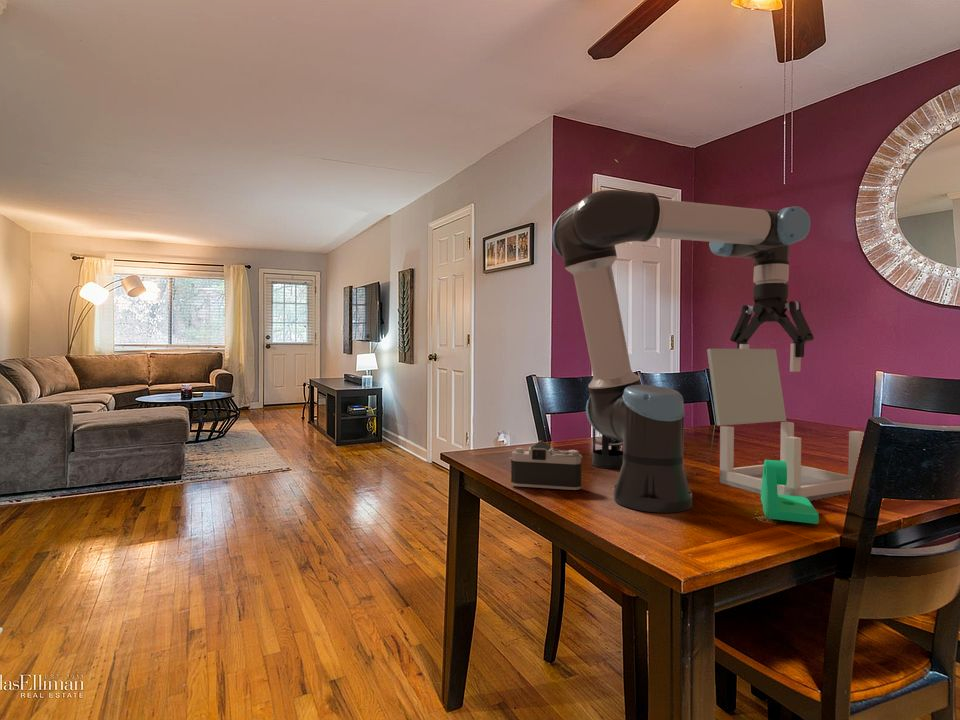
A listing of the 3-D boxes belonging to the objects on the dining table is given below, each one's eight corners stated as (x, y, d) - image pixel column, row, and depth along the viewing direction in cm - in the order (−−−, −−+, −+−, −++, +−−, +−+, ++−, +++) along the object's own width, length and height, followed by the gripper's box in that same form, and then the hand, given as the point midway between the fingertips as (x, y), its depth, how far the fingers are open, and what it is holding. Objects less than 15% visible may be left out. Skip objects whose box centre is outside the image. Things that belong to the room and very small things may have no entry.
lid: (710, 348, 121) (703, 350, 123) (720, 425, 119) (712, 425, 121) (775, 349, 130) (768, 350, 132) (786, 420, 127) (778, 421, 129)
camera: (583, 481, 120) (583, 438, 120) (582, 491, 112) (582, 445, 112) (515, 477, 124) (516, 436, 124) (509, 486, 115) (509, 442, 115)
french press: (622, 470, 130) (623, 380, 130) (586, 466, 135) (586, 379, 135) (633, 462, 141) (634, 378, 140) (599, 458, 145) (600, 377, 145)
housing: (793, 503, 102) (794, 438, 102) (719, 482, 119) (720, 426, 119) (863, 492, 111) (864, 432, 111) (785, 474, 128) (786, 421, 127)
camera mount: (819, 530, 88) (820, 470, 88) (768, 524, 91) (769, 466, 91) (806, 510, 99) (806, 457, 99) (760, 505, 102) (761, 454, 102)
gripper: (833, 278, 117) (830, 372, 117) (737, 290, 139) (734, 368, 139) (811, 276, 113) (808, 372, 114) (717, 288, 136) (714, 368, 136)
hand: (768, 370), depth 127 cm, fingers open, 13 cm apart
